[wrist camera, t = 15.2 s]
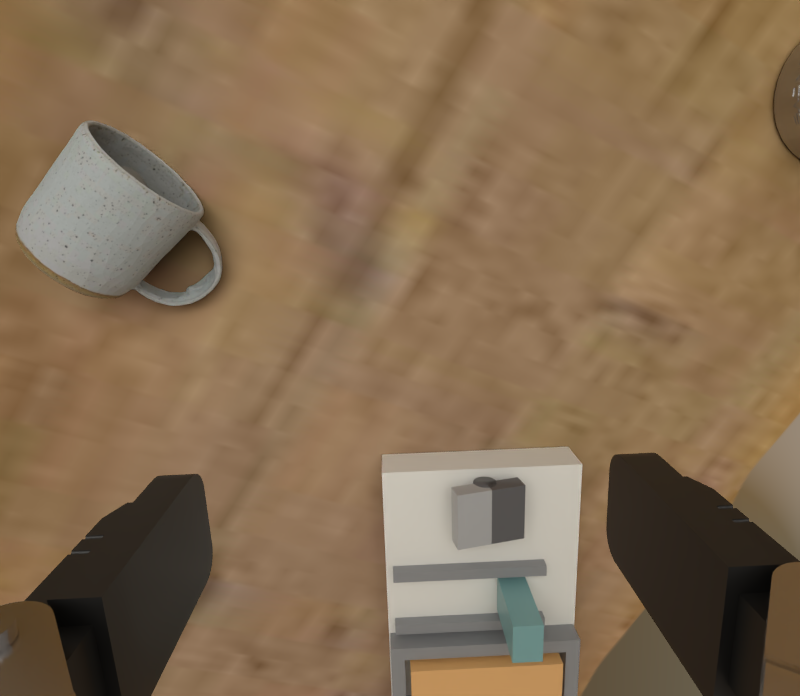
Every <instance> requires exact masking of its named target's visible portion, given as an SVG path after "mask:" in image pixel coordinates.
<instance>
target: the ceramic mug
mask: <svg viewBox="0 0 800 696" xmlns="http://www.w3.org/2000/svg"><path fill="white" fill-rule="evenodd" d="M203 214H204V209H203V206H202V204H201V202H200V200H199V199H198V197H197V196H196V194H195V193H194V191H193V190H192V189H191V188H190V187H189V186H188V185H187V184H186V183H185V182H184V181H183V180H182V179H181V177H180V176H179V175H178V174H177V173H176V172H175V171H174V170H172V169H171V168H170V167H169V166H168V165H167V164H166V163H165V162H164V161H163V160H161V159H160V158H158V157H157V156H156V155H155V154H154V153H152V152H151V151H149V150H148V149H147V148H145V147H144V146H143V145H141V144H140V143H139V142H137V141H135V140H134V139H132V138H131V137H129V136H128V135H127V134H125V133H123V132H120V131H118V130H117V129H115V128H113V127H110V126H108V125H106V124H103V123H100V122H97V121H85V122H83V123H82V124H81V125H80V126H79V127H78V129H77V130H76V132H75V133H74V135H73V136H72V138H71V139H70V141H69V142H68V144H67V145H66V147H65V148H64V149H63V151H62V152H61V154H60V155H59V157H58V158H57V159H56V161H55V162H54V164H53V165H52V167H51V168H50V170H49V171H48V172H47V174H46V176H45V177H44V178H43V180H42V181H41V183H40V184H39V186H38V187H37V189H36V190H35V191H34V193H33V194H32V195H31V197H30V198H29V200H28V201H27V202H26V204H25V206H24V207H23V209H22V211H21V214H20V217H19V219H18V222H17V224H16V238H17V241H18V243H19V245H20V247H21V249H22V251H23V252H24V254H25V256H26V257H27V258H28V259H29V260H30V261H31V262H32V263H33V264H34V265H35V266H36V267H37V268H38V269H39V270H41V271H42V272H43V273H45V274H46V275H47V276H49V277H50V278H52V279H53V280H55V281H57V282H58V283H60V284H62V285H63V286H65V287H67V288H69V289H71V290H73V291H76V292H78V293H81V294H83V295H87V296H91V297H96V298H116V297H120V296H122V295H124V294H125V293H127V292H128V291H130V290H132V289H134V290H136V291H138V292H139V293H140V294H141V295H143V296H145V297H146V298H148V299H151V300H153V301H155V302H157V303H161V304H165V305H170V306H179V305H187V304H192V303H194V302H196V301H198V300H201V299H202V298H204V297H205V296H206V295H207V294H209V293H210V292H211V291H212V290H213V289H214V288H215V287H216V285H217V284H218V282H219V280H220V279H221V274H222V256H221V252H220V248H219V246H218V244H217V241H216V240H215V238H214V237H213V235H212V234H211V233H210V231H209V230H208V229H207V228H206V226H205V225H204V224H203V223H202V222H200V219H201V217H202V216H203ZM190 230H193V231H195V232H197V233H198V234H199V235H200V236H201V237H202V238H203V240H204V241H205V242H206V244H207V246H208V247H209V249H210V250H211V252H212V255H213V260H214V268H213V269H212V270H211V271H210V272H209V273H208V274H207V275H206V276H205V277H203V278H202V279H201V280H200V281H199V282H197V283H196V284H195V285H192V286H189V287H188V288H187V289H186V292H168V291H165V290H163V289H158V288H156V287H155V286H152V285H150V284H148V283H147V282H145V281H144V280H143V279H144V278H145V277H146V276H147V275H148V274H149V272H150V271H151V270H152V269H153V268H154V266H155V265H156V264H158V262H159V261H160V260H161V259H162V258H163V257H164V256H165V255H166V254H167V253H168V252H169V251H170V250H171V249H172V248H173V247H174V246H175V245H176V244H177V243H178V242H179V241H180V240H181V239H182V238H183V237H184V236H185V235H186V234H187V232H188V231H190Z"/></svg>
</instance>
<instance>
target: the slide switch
mask: <svg viewBox="0 0 800 696" xmlns="http://www.w3.org/2000/svg"><path fill="white" fill-rule="evenodd" d="M497 611H498V615H499V618H500V622H501V625H502V629H503V632H504V636H505V639H506V643H507V646H508V650H509V653H510V657H511V660H512V663H523V662H543V640H544V624H543V621H542V619H541V616H540V614H539V611H538V609H537V606H536V603H535V601H534V598H533V596H532V593H531V591H530V588H529V585H528V583H527V580H526V578H525V577H509V578H497Z"/></svg>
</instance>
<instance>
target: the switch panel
mask: <svg viewBox="0 0 800 696" xmlns="http://www.w3.org/2000/svg"><path fill="white" fill-rule="evenodd" d="M478 477H491V478H493V479H495V480H502V479H509V478H515V477H518V478H519V479H520V480H521V481H522V482H523V483H524V484H525V485H526V486H525V527H524V538H523V539H517V540H512V541H506V542H501V543H495V544H489V545H484V546H478V547H473V548H467V549H462V550H458V549H457V548H456V546H455V544H454V543H453V541H452V490H451V487H456V486H463V485H469V484H473V480H474V479H475V478H478ZM581 481H582V463H581V462H580V461H579V460H578V458H577V457H576V456H575V455H574V453H573V452H572V451H571V449H570V448H569V447H547V448H524V449H500V450H477V451H453V452H430V453H406V454H383V455H382V487H383V510H384V532H385V555H386V577H387V599H388V622H389V644H390V666H391V689H392V696H411V675H410V660H420V659H440V658H460V657H480V656H500V655H510V653H509V650H508V646H507V643H506V639H505V636H504V632H503V629H502V625H501V622H500V618H499V615H498V611H497V578H509V577H525V578H526V580H527V583H528V585H529V588H530V591H531V593H532V596H533V598H534V601H535V603H536V606H537V609H538V611H539V614H540V616H541V619H542V621H543V624H544V640H543V653H559V655H560V657H561V660H562V662H563V681H562V696H577V692H578V674H579V655H580V638H579V636H578V634H577V632H576V630H575V627H574V618H575V599H576V579H577V560H578V540H579V520H580V501H581Z"/></svg>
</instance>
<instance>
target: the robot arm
mask: <svg viewBox="0 0 800 696" xmlns="http://www.w3.org/2000/svg"><path fill="white" fill-rule="evenodd" d="M774 114H775V120H776V125H777V129H778V131H779V133H780V136H781V138H782V140H783V142H784V143H785V144H786V146H787V147H788V148H789V150H790V151H791V152H792V153H793V154H794V155H796V156H797V157H798V158H799V159H800V43H799V44H798V45H797V46H796V48H795V49H794V50H793V51H792V53H791V55H790V56H789V58H788V59H787V61H786V62H785V64H784V66H783V69H782V71H781V74H780V76H779V78H778V82H777V86H776V91H775V96H774ZM607 539H608V544H609V548H610V552H611V554H612V557H613V559H614V561H615V563H616V564H617V566H618V567H619V569H620V570H621V572H622V573H623V575H624V576H625V578H626V579H627V581H628V582H629V584H630V585H631V587H632V588H633V590H634V591H635V593H636V595H637V596H638V598H639V599H640V601H641V602H642V604H643V605H644V607H645V608H646V610H647V611H648V613H649V614H650V616H651V617H652V619H653V620H654V622H655V623H656V625H657V626H658V628H659V629H660V631H661V632H662V634H663V635H664V637H665V639H666V640H667V642H668V643H669V645H670V646H671V648H672V649H673V651H674V652H675V654H676V655H677V657H678V658H679V660H680V661H681V663H682V664H683V666H684V667H685V669H686V670H687V672H688V674H689V675H690V677H691V678H692V680H693V681H694V683H695V684H696V686H697V687H698V689H699V690H700V692H701V693H702V695H703V696H800V561H799V560H797V559H796V558H795V557H794V556H792V555H791V554H790V553H789V552H788V551H786V549H784V548H783V547H782V546H781V545H780V544H778V543H777V542H776V541H775V540H774V539H772V538H771V537H770V536H769V535H768V534H766V533H765V532H764V531H763V530H762V529H761V528H759V527H758V526H757V525H756V524H754V523H753V522H749V518H747V517H746V516H745V515H744V514H743V513H741V512H740V511H739V510H738V509H737V508H733V505H732V504H731V503H729V502H728V501H727V500H726V499H725V498H724V497H722V496H721V495H720V494H719V493H718V492H716V491H715V490H714V489H712V488H710V487H708V486H706V485H704V484H702V483H700V482H697V481H695V480H693V479H691V478H689V477H683V476H682V475H681V474H679V473H678V472H677V471H676V470H675V469H674V468H673V467H671V466H670V465H669V464H668V463H667V462H666V461H665V460H664V459H662V458H661V457H660V456H659V455H658V454H656V453H639V454H618V455H614V456H613V458H612V460H611V463H610V471H609V490H608V508H607ZM211 566H212V541H211V534H210V526H209V519H208V512H207V505H206V498H205V491H204V485H203V481H202V479H201V477H200V476H199V475H198V474H186V475H165V476H157V477H156V478H154V479H153V481H152V482H151V483H150V484H149V485H148V486H147V487H146V488H145V490H144V491H143V492H142V493H141V494H140V495H139V496H138V497H137V499H136V500H135V501H134V502H133V503H126V504H125V505H123V506H121V507H120V508H118V509H117V510H115V511H113V512H112V513H110V514H108V515H107V516H105V517H104V518H102V519H101V520H100V521H99V522H98V523H97V524H96V525H95V527H94V528H93V529H92V530H91V531H90V532H89V533H88V534H87V535H86V538H85V539H83V540H81V541H80V542H79V544H78V545H77V546H76V547H75V548H74V549H73V550H72V553H71V555H67V556H66V557H65V558H64V559H63V561H62V562H61V563H60V564H59V565H58V566H57V567H56V568H55V569H54V570H53V571H52V572H51V573H50V574H49V575H48V576H47V577H46V579H45V580H44V581H43V582H42V583H41V584H40V585H39V586H38V587H37V588H36V589H35V590H34V591H33V592H32V593H31V594H30V596H29V597H28V598H27V599H26V600H25V601H22V602H15V603H9V604H5V605H2V606H0V696H151V695H152V693H153V690H154V688H155V686H156V684H157V682H158V680H159V678H160V676H161V674H162V672H163V670H164V668H165V666H166V664H167V662H168V660H169V658H170V656H171V654H172V652H173V650H174V648H175V646H176V644H177V642H178V640H179V638H180V636H181V634H182V632H183V630H184V628H185V626H186V624H187V621H188V619H189V617H190V615H191V613H192V611H193V609H194V607H195V605H196V603H197V601H198V599H199V597H200V595H201V593H202V591H203V589H204V587H205V585H206V583H207V581H208V578H209V575H210V571H211Z"/></svg>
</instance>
